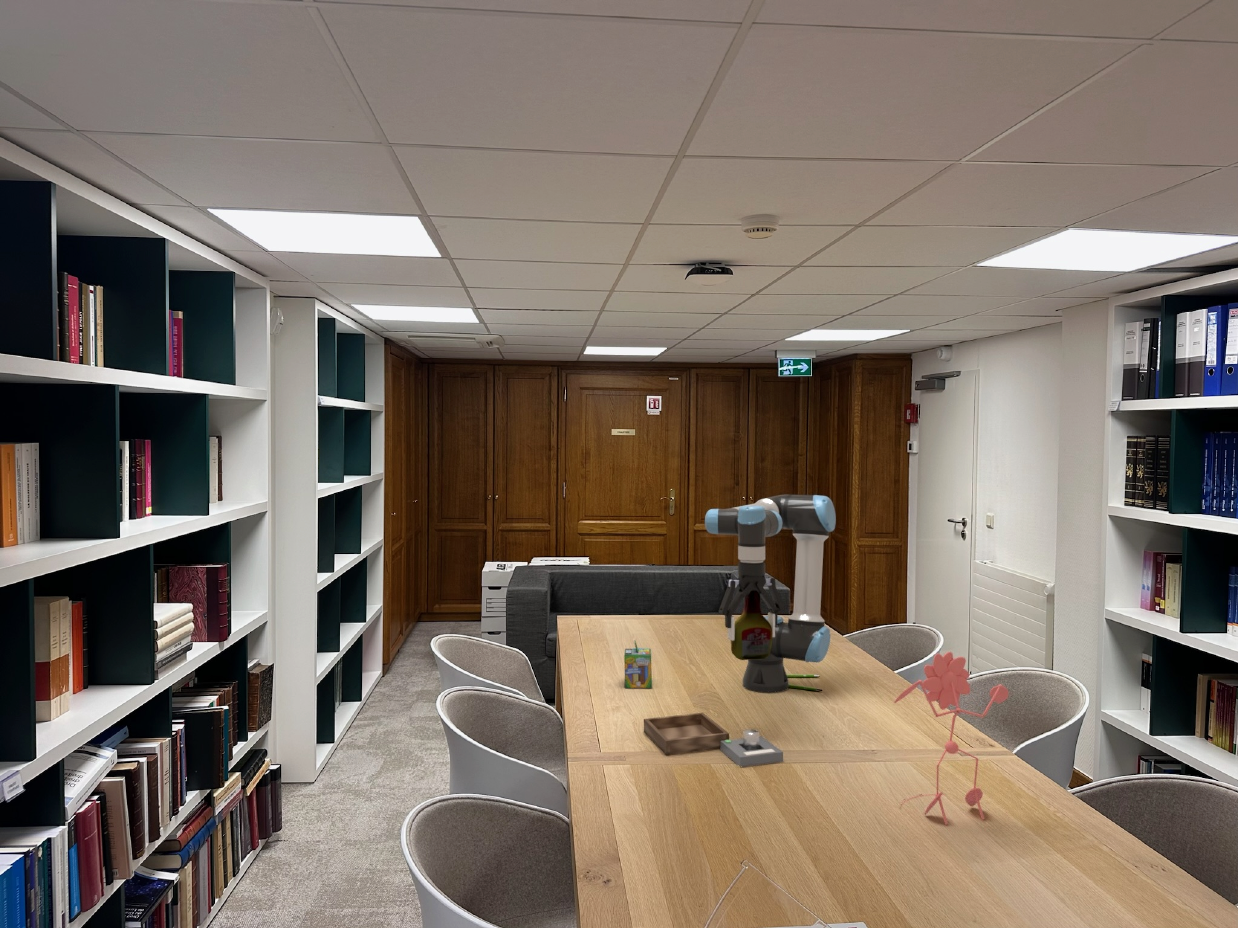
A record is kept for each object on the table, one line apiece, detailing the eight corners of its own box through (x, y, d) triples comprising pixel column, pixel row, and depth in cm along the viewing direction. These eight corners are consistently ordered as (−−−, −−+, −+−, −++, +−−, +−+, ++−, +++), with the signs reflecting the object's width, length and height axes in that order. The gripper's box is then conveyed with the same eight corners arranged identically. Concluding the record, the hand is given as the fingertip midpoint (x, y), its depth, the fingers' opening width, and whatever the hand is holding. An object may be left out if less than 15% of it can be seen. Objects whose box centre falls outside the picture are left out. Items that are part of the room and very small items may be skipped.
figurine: (1020, 816, 175) (1017, 654, 175) (915, 831, 168) (912, 663, 168) (972, 789, 190) (970, 640, 190) (874, 802, 183) (872, 647, 183)
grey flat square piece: (761, 745, 218) (761, 734, 218) (783, 761, 206) (783, 750, 206) (720, 750, 214) (720, 739, 214) (740, 767, 203) (740, 755, 203)
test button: (754, 745, 213) (754, 728, 213) (761, 750, 209) (761, 733, 209) (740, 746, 212) (740, 730, 212) (747, 752, 208) (747, 735, 208)
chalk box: (651, 688, 269) (651, 644, 269) (624, 688, 269) (624, 644, 269) (651, 680, 278) (651, 638, 278) (625, 680, 279) (624, 638, 278)
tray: (702, 725, 233) (702, 712, 233) (729, 747, 216) (729, 733, 216) (643, 732, 228) (643, 718, 228) (666, 755, 211) (665, 740, 211)
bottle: (769, 655, 231) (769, 585, 231) (775, 661, 225) (775, 589, 224) (728, 656, 230) (728, 586, 230) (733, 662, 223) (733, 590, 223)
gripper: (783, 557, 234) (782, 631, 235) (706, 561, 227) (706, 637, 227) (796, 560, 227) (796, 637, 227) (718, 564, 220) (718, 643, 220)
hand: (751, 637), depth 227 cm, fingers closed on bottle, 12 cm apart
